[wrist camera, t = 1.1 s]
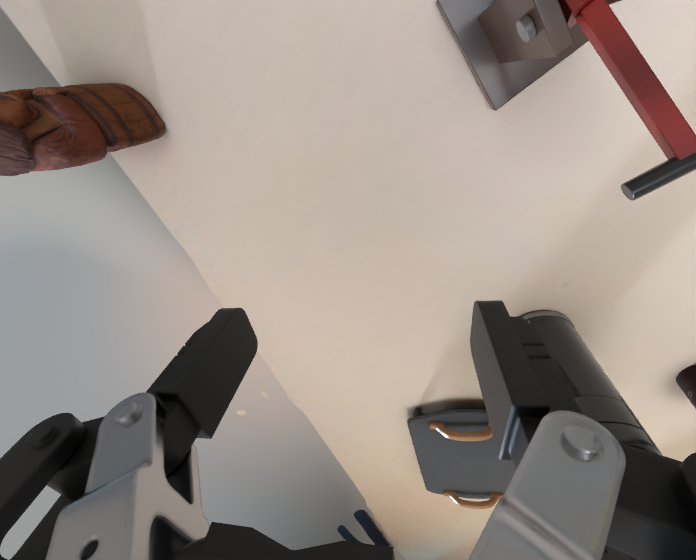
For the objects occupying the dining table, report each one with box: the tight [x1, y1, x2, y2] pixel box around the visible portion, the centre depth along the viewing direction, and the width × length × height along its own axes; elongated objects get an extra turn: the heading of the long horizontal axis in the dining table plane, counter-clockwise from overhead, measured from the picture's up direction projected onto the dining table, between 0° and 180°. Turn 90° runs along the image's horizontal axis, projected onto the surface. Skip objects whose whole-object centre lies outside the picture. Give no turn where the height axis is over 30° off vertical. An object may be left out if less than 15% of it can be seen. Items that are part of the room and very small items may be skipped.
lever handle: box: [558, 0, 696, 200], centre depth 17 cm, size 14×6×2 cm, turn 40°
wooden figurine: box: [0, 83, 165, 176], centre depth 29 cm, size 12×6×18 cm, turn 91°
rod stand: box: [436, 0, 621, 110], centre depth 21 cm, size 11×9×13 cm
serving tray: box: [407, 409, 515, 509], centre depth 65 cm, size 39×23×6 cm, turn 15°
